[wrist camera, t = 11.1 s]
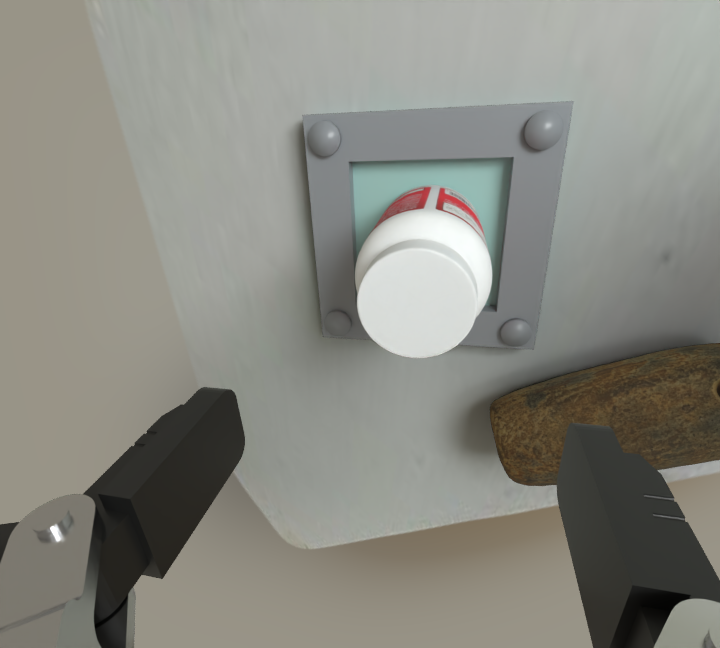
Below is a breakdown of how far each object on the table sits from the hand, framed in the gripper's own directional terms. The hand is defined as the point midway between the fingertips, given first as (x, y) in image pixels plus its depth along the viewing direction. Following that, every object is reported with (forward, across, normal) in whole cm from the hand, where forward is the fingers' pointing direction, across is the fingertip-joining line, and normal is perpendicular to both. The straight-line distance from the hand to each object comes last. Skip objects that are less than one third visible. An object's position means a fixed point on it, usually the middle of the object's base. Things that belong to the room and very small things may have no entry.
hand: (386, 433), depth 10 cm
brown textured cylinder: (+19, -12, +10) cm, 25 cm away
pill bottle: (+18, 0, 0) cm, 18 cm away
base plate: (+19, 0, 0) cm, 19 cm away
